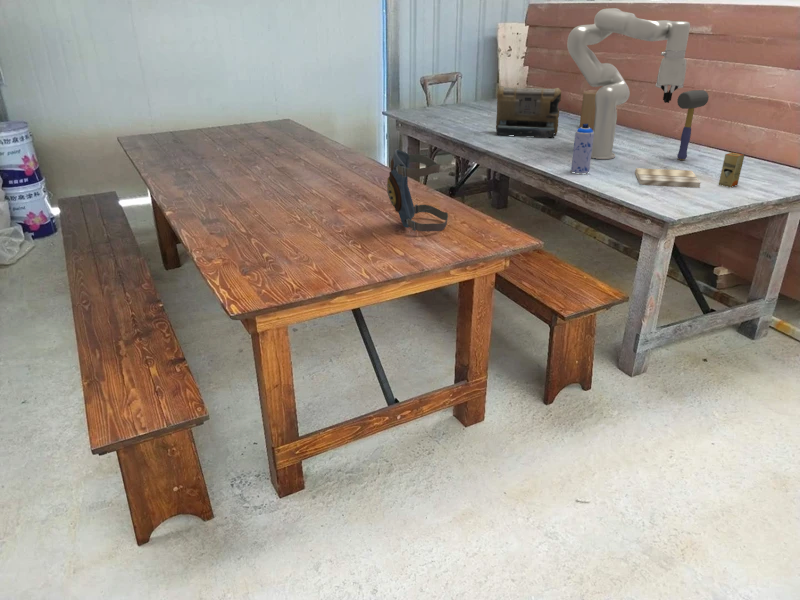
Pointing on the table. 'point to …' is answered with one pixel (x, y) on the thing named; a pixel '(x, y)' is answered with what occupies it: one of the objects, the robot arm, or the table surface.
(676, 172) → the pale ash plank
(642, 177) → the streaked tan wood board
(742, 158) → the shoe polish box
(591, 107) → the wooden block
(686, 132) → the rubber mallet
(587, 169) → the aerosol can
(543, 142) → the table surface
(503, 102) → the brown boxy block
